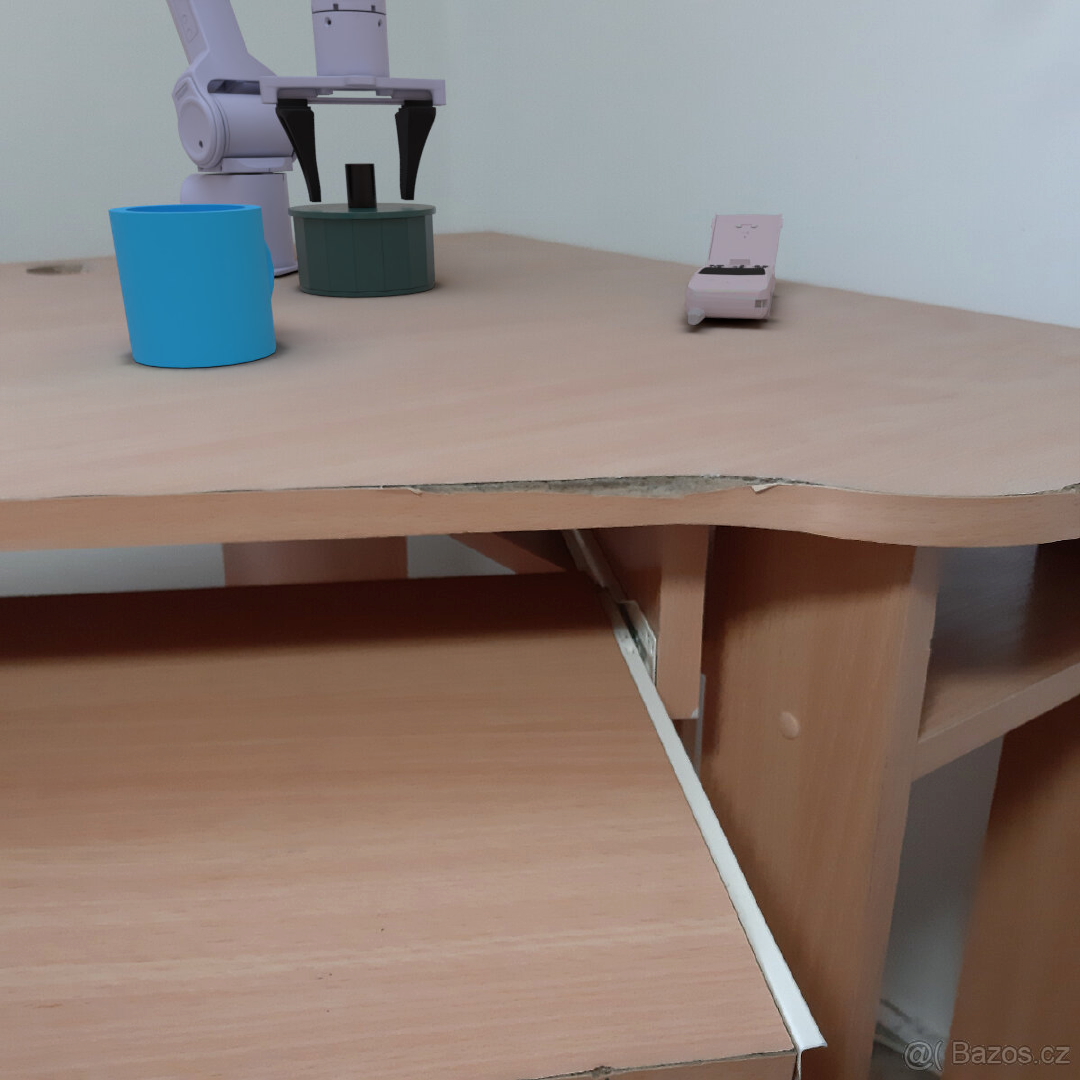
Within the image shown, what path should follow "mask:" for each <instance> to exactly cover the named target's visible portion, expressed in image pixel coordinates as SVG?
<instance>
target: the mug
mask: <svg viewBox="0 0 1080 1080" xmlns="http://www.w3.org/2000/svg"><path fill="white" fill-rule="evenodd" d="M107 212H108V216H109V217H108V218H109V223H110V230H111V234H112V239H113V240H112V241H113V247H114V248H113V249H114V252H115V253H114V254H115V260H116V264H117V272H118V278H119V283H120V289H121V295H122V301H123V307H124V313H125V319H126V326H127V331H128V337H129V343H130V349H131V356H132V359H133V360H134V361H135V362H136V363H139V364H141V365H145V366H151V367H152V366H153V367H160V368H182V369H186V368H187V369H188V368H189V369H190V368H210V367H219V366H230V365H235V364H237V365H238V364H242V363H247V362H248V363H249V362H253V361H256V360H259V359H263V358H267V357H269V356H271V355H272V354H274V353H276V350H277V342H276V334H275V331H276V330H275V324H274V323H275V322H274V314H273V304H272V299H273V292H274V288H275V276H274V266H273V261H272V257H271V252H270V250H269V248H268V246H267V243H266V241H265V238H264V229H263V219H262V210H261V207H260V206H256V205H244V204H180V203H176V204H173V203H171V204H151V205H150V204H149V205H148V204H147V205H131V206H122V207H116V208H115V207H114V208H110V209H108V210H107Z"/></svg>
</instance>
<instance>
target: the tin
mask: <svg viewBox="0 0 1080 1080" xmlns="http://www.w3.org/2000/svg"><path fill="white" fill-rule="evenodd" d="M433 219H434V217H433V215H427V216H419V217H407V218H388V219H315V218H300V217H293V216H292V220H293V222H292V223H293V232H294V242H295V243H294V244H295V251H296V261H297V264H298V270H297V272H298V284H299V289H300V291H302V292H303V293H307V294H310V295H315V296H316V295H317V296H326V297H339V298H372V297H375V298H376V297H392V296H402V295H403V296H404V295H409V294H415V293H422V292H426V291H428V290H431V289H433V288H434V287H435V282H436V268H435V266H436V265H435V245H434V244H435V242H434V220H433Z"/></svg>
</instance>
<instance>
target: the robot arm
mask: <svg viewBox="0 0 1080 1080" xmlns="http://www.w3.org/2000/svg"><path fill="white" fill-rule="evenodd" d="M165 1H166V4H167V7H168V9H169V12H170V15H171V18H172V21H173V23H174V26H175V29H176V31H177V35H178V37H179V40H180V43H181V45H182V49H183V51H184V53H185V57H186V59H187V62H188V67H187V68H185V70H183V72H182V73H181V74H180V75H179V77H178V78H177V80H176V81H175V84H174V86H173V88H172V92H171V98H172V101H173V103H174V108H175V111H176V117H177V130H178V137H179V139H180V144H181V146H182V148H183V150H184V152H185V153H186V155H187V156H188V158H189V159H190V161H191V162H192V163H193V164H194V165H196V166H197V173H196V172H195V173H191V174H189V175H187V176H186V177H184V180H183V181H182V183H181V187H180V192H179V204H244V205H256V206H260V207H261V210H262V219H263V229H264V238H265V241H266V243H267V246H268V248H269V250H270V252H271V257H272V261H273V266H274V277H275V276H283V275H285V274H288V273H291V272H295V271H298V264H297V260H296V258H295V257H296V256H295V246H294V238H293V226H292V216H289V215H288V208H290V207H291V205H290V196H289V195H290V194H289V185H288V184H289V183H288V175H287V173H286V172H293V171H294V168H293V167H294V165H293V164H294V163H295V162H296V160H297V161H298V163H299V166H300V169H301V172H302V175H303V178H304V182H305V185H306V189H307V194H308V199H309V202H310V203H322V188H321V182H320V175H319V174H320V173H319V168H318V162H317V149H316V147H317V146H316V129H315V128H316V127H315V126H316V125H315V112H314V111H313V110H312V106H310V105H348V106H349V105H353V106H354V105H357V106H358V105H359V106H360V105H361V106H366V105H367V106H400V107H398V108H397V109H398V111H396V112H395V113H394V122H395V128H396V136H397V145H398V155H399V156H398V157H399V193H400V199H401V200H403V201H415V191H416V183H417V177H418V172H419V167H420V163H421V160H422V155H423V152H424V148H425V146H426V143H427V140H428V137H429V135H430V132H431V130H432V128H433V125H434V123H435V121H436V117H437V107H442V106H446V105H447V96H446V95H447V94H446V79H441V78H440V79H439V78H410V77H391V76H390V57H389V56H390V55H389V39H388V21H387V20H388V19H387V2H386V1H387V0H310V7H311V19H312V20H311V21H312V31H313V32H312V34H313V46H314V56H315V57H314V58H315V69H316V76H315V75H314V76H313V75H307V76H306V75H303V76H302V75H301V76H298V75H293V76H291V75H289V76H288V75H285V76H283V75H281V76H279V75H278V74H276V72H274V71H273V70H272V69H270V68H269V67H268V66H267V65H265V64H264V63H262V62H261V61H260V60H258V59H257V58H256V57H254V56H253V55H252V54H251V53H249V51H248V48H247V45H246V42H245V40H244V37H243V34H242V31H241V28H240V25H239V23H238V20H237V17H236V14H235V11H234V9H233V5H232V3H231V0H165ZM334 92H375V97H331V95H334ZM319 96H320V97H319ZM323 96H324V97H323ZM325 96H327V97H325ZM329 96H330V97H329ZM308 105H309V106H308Z"/></svg>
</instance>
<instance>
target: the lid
mask: <svg viewBox="0 0 1080 1080" xmlns="http://www.w3.org/2000/svg"><path fill="white" fill-rule="evenodd" d="M375 168H376V167H375V163H371V162H357V163H355V162H353V163H352V162H350V163H344V173H345V186H346V187H345V188H346V199H347V202H341V203H340V202H339V203H319V204H317V203H315V204H302V205H295V206H290V208H288V215H289V216H291V217H292V218H293V217H300V218H315V219H388V218H407V217H419V216H427V215H432V216H433V215H436V213H437V206H435V205H432V204H424V203H410V202H409V203H407V202H406V203H405V202H378V198H377V185H376V183H377V182H376V169H375Z"/></svg>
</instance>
